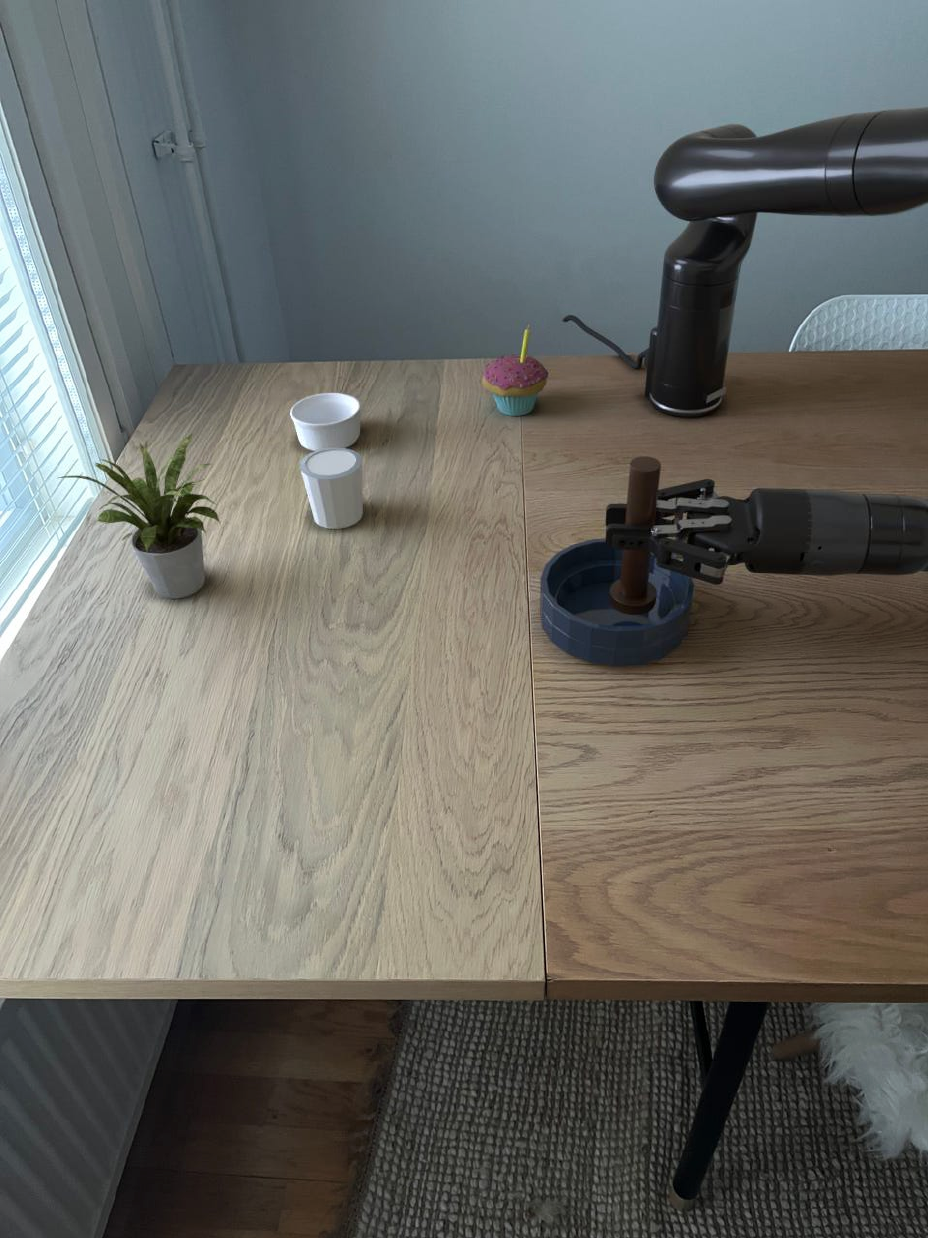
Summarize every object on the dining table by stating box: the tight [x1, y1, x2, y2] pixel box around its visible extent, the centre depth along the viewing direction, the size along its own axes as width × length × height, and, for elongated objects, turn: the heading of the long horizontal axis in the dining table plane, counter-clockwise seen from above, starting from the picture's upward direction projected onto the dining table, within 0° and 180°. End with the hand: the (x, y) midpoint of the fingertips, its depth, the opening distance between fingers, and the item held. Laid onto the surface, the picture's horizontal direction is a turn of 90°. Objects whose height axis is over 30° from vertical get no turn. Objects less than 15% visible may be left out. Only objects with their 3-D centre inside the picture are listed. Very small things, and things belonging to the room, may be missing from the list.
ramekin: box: [289, 392, 361, 452], centre depth 121 cm, size 9×9×4 cm
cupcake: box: [482, 323, 549, 417], centre depth 123 cm, size 9×8×12 cm
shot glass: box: [299, 447, 364, 530], centre depth 106 cm, size 7×7×7 cm
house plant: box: [58, 432, 221, 600], centre depth 94 cm, size 14×14×16 cm
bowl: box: [539, 537, 696, 668], centre depth 91 cm, size 14×14×5 cm
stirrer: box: [609, 455, 662, 615], centre depth 86 cm, size 4×4×15 cm
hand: (606, 525), depth 85 cm, fingers closed on stirrer, 2 cm apart
